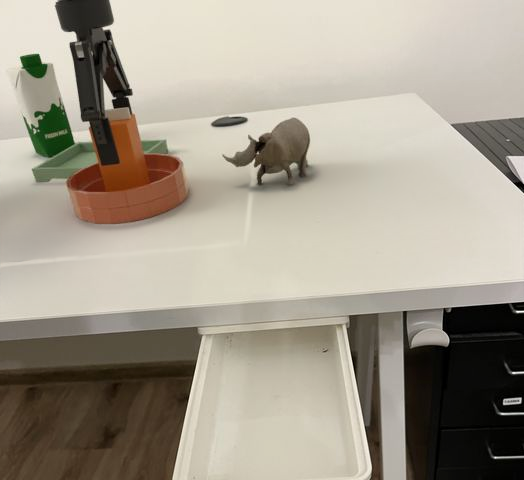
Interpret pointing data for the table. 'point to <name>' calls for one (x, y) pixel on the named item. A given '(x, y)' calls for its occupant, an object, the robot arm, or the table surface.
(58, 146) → the milk carton
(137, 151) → the carton
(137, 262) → the table surface
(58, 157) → the tray
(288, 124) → the rhinoceros figurine
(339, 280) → the table surface
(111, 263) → the table surface
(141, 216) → the bowl
